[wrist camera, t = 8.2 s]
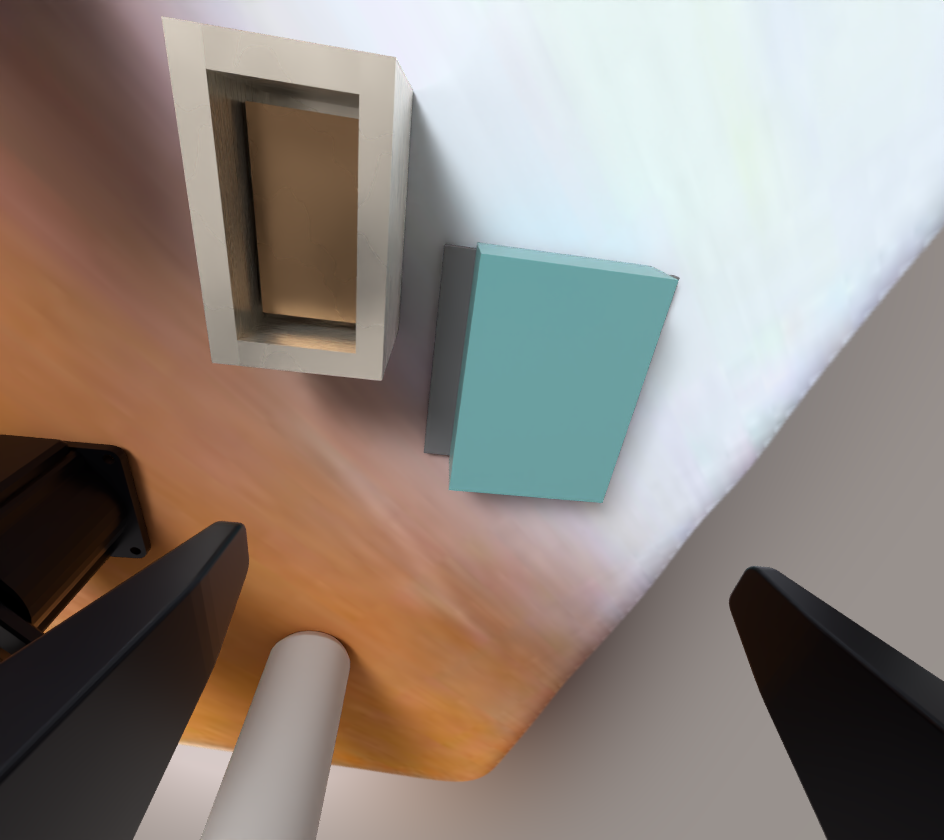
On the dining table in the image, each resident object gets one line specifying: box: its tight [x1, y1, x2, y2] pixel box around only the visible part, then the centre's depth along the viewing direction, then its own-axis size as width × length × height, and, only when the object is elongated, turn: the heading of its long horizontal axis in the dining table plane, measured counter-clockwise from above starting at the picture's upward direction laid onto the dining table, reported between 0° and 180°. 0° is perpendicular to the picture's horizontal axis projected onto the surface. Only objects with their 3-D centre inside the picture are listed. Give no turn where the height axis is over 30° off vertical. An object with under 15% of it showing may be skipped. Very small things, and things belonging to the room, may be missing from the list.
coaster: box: [424, 244, 679, 455], centre depth 19 cm, size 9×9×1 cm
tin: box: [161, 16, 413, 381], centre depth 14 cm, size 8×5×5 cm, turn 172°
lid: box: [449, 242, 678, 503], centre depth 18 cm, size 9×7×2 cm
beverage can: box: [200, 631, 350, 840], centre depth 23 cm, size 5×5×12 cm
